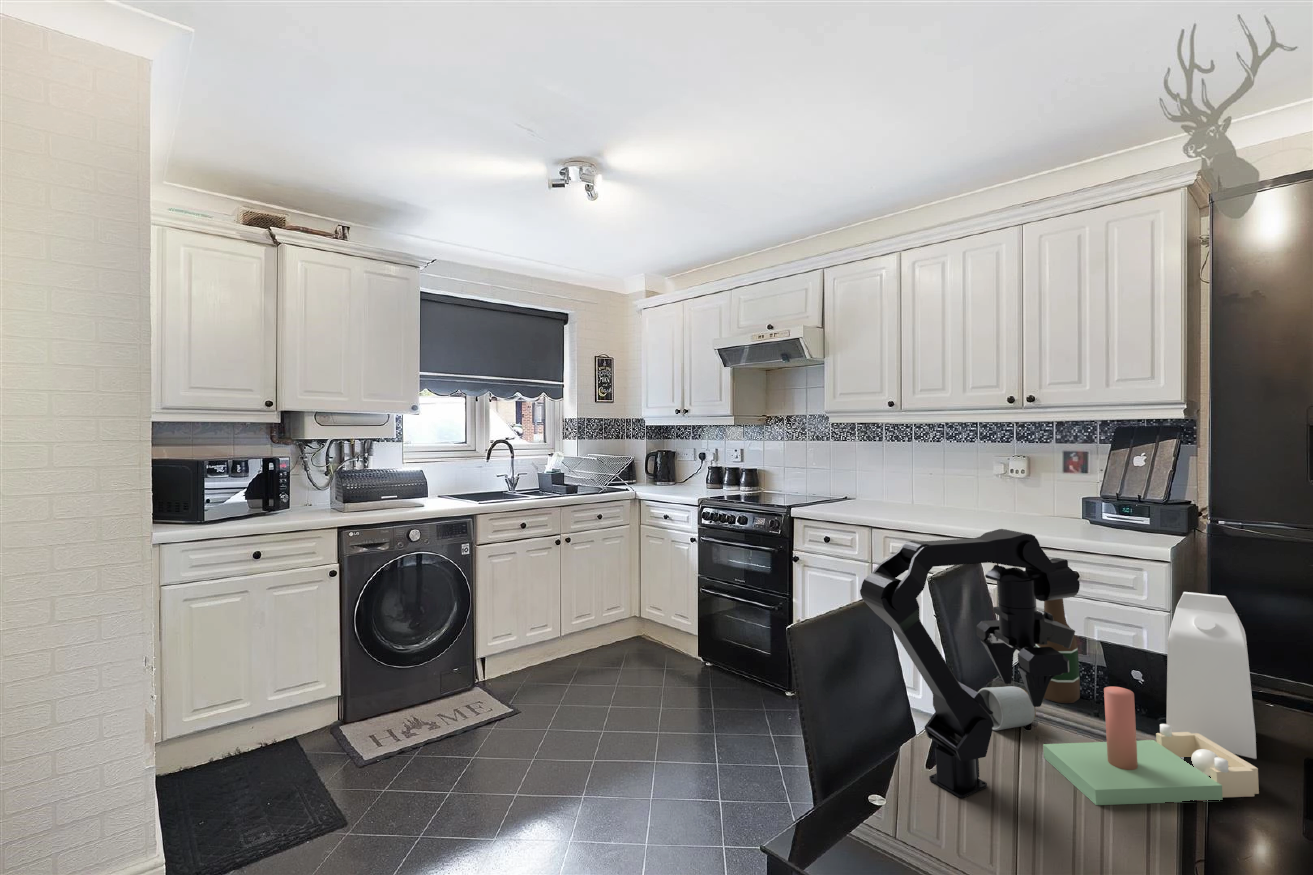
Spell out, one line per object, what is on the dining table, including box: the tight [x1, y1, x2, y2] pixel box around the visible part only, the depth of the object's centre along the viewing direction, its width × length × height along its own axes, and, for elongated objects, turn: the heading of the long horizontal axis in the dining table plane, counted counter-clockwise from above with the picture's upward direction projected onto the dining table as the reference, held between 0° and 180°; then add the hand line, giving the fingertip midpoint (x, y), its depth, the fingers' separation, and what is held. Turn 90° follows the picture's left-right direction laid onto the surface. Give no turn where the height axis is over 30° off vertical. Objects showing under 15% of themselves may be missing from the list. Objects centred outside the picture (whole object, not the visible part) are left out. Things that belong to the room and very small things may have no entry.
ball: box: [1191, 749, 1220, 776], centre depth 103 cm, size 4×4×4 cm
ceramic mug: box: [977, 685, 1037, 731], centre depth 125 cm, size 11×8×8 cm
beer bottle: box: [1035, 598, 1081, 704], centre depth 134 cm, size 8×8×24 cm
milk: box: [1165, 591, 1257, 760], centre depth 115 cm, size 12×12×26 cm
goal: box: [1155, 723, 1260, 798], centre depth 103 cm, size 7×13×6 cm, turn 178°
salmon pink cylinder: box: [1103, 686, 1138, 770], centre depth 104 cm, size 4×4×12 cm
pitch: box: [1042, 739, 1224, 806], centre depth 104 cm, size 19×14×2 cm
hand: (1021, 694), depth 108 cm, fingers open, 9 cm apart
